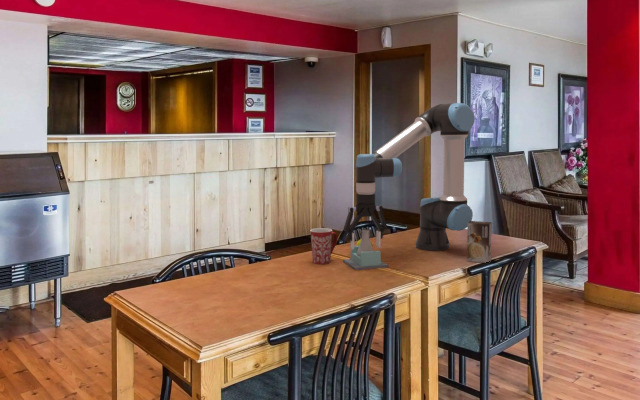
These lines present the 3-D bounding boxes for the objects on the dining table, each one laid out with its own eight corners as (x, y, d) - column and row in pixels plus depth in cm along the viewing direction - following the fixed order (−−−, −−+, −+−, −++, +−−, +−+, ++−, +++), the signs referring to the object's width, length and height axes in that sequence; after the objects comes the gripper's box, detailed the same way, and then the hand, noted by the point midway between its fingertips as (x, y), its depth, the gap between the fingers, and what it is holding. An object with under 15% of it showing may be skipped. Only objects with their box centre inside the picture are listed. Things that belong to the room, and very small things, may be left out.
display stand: (375, 259, 234) (375, 244, 233) (388, 267, 221) (388, 251, 220) (343, 261, 230) (343, 246, 229) (354, 270, 217) (354, 253, 216)
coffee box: (491, 260, 232) (492, 221, 230) (489, 263, 226) (490, 224, 224) (469, 258, 236) (470, 220, 234) (466, 261, 230) (467, 222, 228)
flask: (353, 253, 227) (353, 229, 226) (368, 252, 230) (369, 228, 229) (362, 257, 220) (362, 232, 219) (377, 255, 223) (378, 231, 222)
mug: (319, 266, 224) (319, 232, 222) (306, 261, 231) (305, 229, 229) (343, 261, 231) (343, 229, 230) (330, 257, 239) (329, 226, 237)
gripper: (388, 191, 229) (388, 244, 232) (335, 193, 222) (335, 247, 225) (396, 193, 222) (395, 247, 224) (341, 195, 215) (341, 251, 218)
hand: (365, 247), depth 225 cm, fingers open, 10 cm apart
